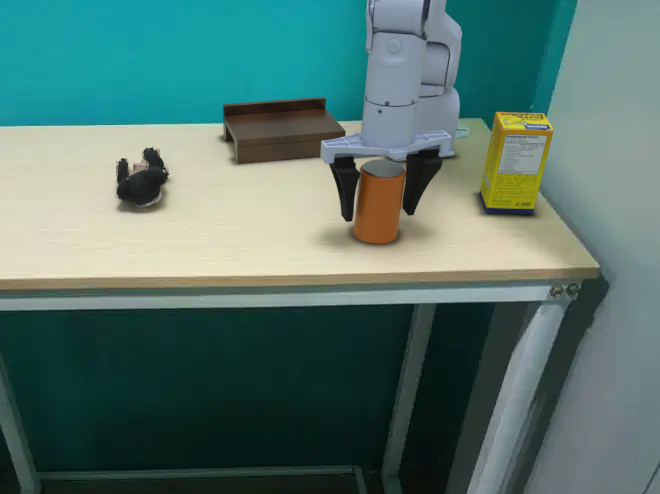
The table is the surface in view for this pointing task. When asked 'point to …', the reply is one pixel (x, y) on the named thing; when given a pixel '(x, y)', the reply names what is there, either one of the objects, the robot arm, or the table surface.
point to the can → (379, 201)
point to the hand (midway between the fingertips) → (377, 215)
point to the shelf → (279, 128)
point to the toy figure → (142, 178)
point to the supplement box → (515, 162)
